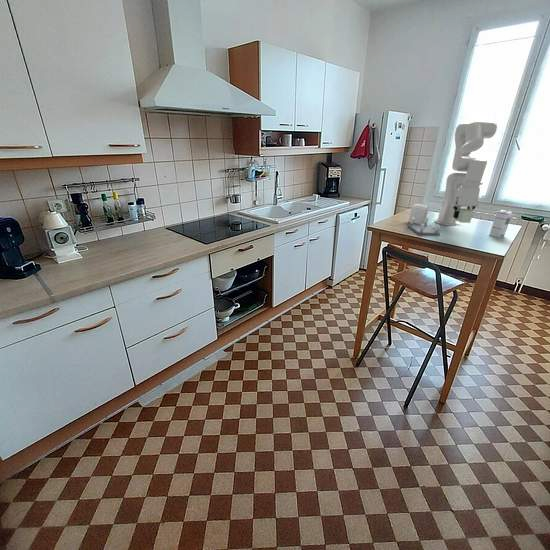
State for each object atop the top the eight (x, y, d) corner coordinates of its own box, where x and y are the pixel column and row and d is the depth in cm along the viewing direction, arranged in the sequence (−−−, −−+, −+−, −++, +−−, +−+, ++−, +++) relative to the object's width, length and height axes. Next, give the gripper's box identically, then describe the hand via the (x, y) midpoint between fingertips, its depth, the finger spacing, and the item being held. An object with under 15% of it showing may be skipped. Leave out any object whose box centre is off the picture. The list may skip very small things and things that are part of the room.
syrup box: (499, 237, 169) (508, 212, 162) (488, 234, 173) (497, 210, 167) (504, 236, 172) (513, 211, 165) (493, 233, 176) (501, 209, 170)
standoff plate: (426, 227, 185) (429, 217, 182) (439, 235, 169) (442, 225, 167) (407, 226, 185) (409, 217, 182) (418, 234, 170) (421, 224, 167)
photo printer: (407, 222, 195) (411, 203, 189) (410, 221, 197) (414, 202, 192) (422, 225, 188) (427, 206, 182) (425, 224, 190) (430, 205, 185)
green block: (459, 216, 167) (462, 206, 164) (470, 222, 157) (473, 211, 155) (450, 216, 167) (453, 206, 164) (460, 222, 157) (464, 211, 155)
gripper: (483, 183, 156) (472, 216, 165) (451, 182, 157) (441, 215, 165) (492, 185, 150) (480, 220, 158) (458, 185, 150) (448, 219, 159)
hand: (460, 217), depth 162 cm, fingers closed on green block, 5 cm apart
